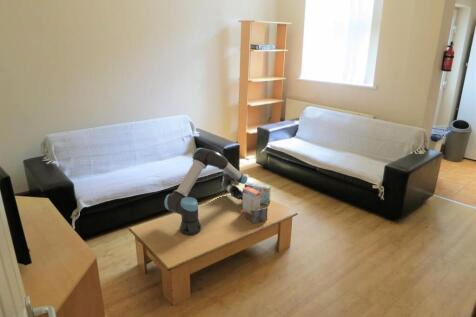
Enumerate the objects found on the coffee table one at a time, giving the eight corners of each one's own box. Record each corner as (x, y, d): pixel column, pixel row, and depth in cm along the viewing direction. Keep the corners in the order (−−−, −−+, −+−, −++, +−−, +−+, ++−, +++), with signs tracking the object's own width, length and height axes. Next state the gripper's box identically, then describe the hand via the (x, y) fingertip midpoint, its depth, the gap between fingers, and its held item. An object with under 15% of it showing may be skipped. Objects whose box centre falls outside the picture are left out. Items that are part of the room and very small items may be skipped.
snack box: (270, 202, 288) (270, 185, 283) (268, 205, 284) (268, 188, 278) (246, 197, 296) (246, 181, 290) (244, 200, 291) (244, 184, 286)
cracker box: (260, 216, 266) (261, 191, 259) (254, 219, 262) (255, 194, 255) (247, 209, 276) (248, 185, 269) (242, 212, 272) (242, 187, 265)
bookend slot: (253, 223, 256) (253, 211, 252) (244, 216, 266) (244, 204, 263) (267, 219, 261) (267, 207, 258) (258, 212, 272) (258, 201, 268)
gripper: (240, 192, 296) (254, 203, 277) (226, 195, 290) (240, 207, 271) (240, 184, 294) (254, 194, 274) (226, 187, 288) (240, 198, 268)
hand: (247, 201), depth 273 cm, fingers closed
